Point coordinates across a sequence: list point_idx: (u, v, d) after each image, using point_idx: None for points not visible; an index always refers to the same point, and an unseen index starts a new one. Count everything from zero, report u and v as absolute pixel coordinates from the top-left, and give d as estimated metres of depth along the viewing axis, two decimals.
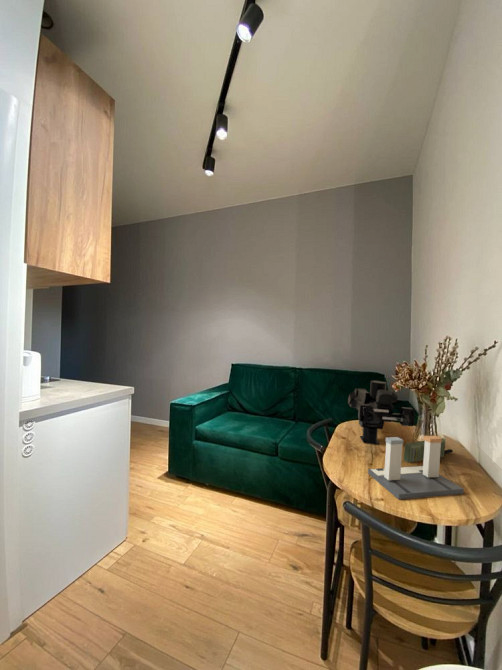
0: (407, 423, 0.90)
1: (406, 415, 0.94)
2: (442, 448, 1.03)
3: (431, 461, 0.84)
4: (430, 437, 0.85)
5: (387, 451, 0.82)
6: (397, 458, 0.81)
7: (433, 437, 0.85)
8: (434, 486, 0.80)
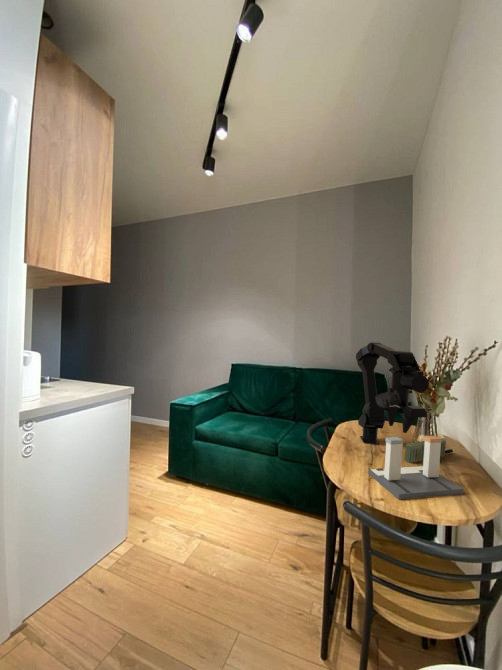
0: None
1: (404, 420, 0.92)
2: (443, 448, 1.03)
3: (431, 461, 0.84)
4: (430, 437, 0.85)
5: (387, 451, 0.82)
6: (397, 458, 0.81)
7: (433, 437, 0.85)
8: (434, 486, 0.80)
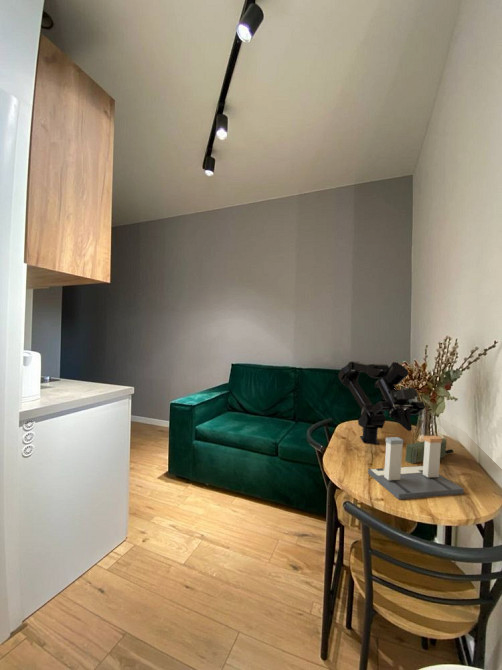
0: None
1: (408, 416, 0.96)
2: (443, 448, 1.03)
3: (431, 461, 0.84)
4: (430, 437, 0.85)
5: (387, 451, 0.82)
6: (397, 458, 0.81)
7: (433, 437, 0.85)
8: (434, 486, 0.80)
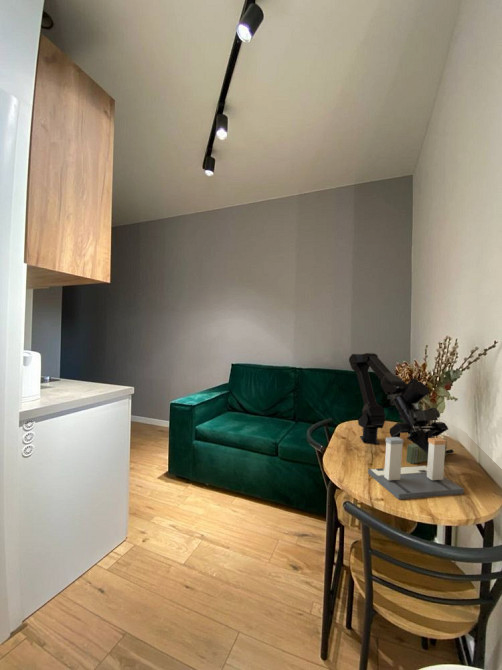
0: None
1: None
2: None
3: (435, 463, 0.82)
4: (434, 439, 0.83)
5: (387, 451, 0.82)
6: (397, 458, 0.81)
7: (437, 439, 0.83)
8: (434, 486, 0.80)
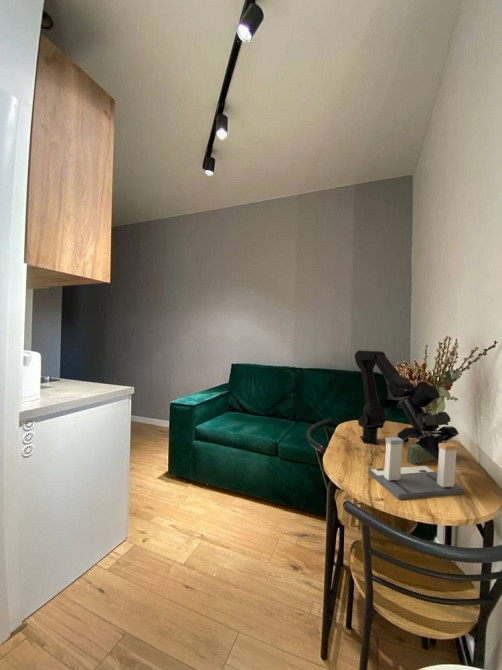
0: None
1: None
2: None
3: (446, 469, 0.79)
4: (445, 444, 0.80)
5: (387, 451, 0.82)
6: (397, 458, 0.81)
7: (448, 444, 0.80)
8: (434, 486, 0.80)
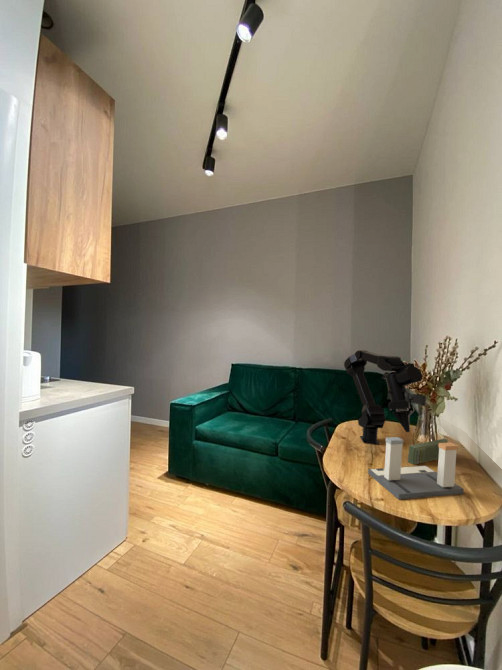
0: None
1: (409, 418, 0.97)
2: None
3: (446, 469, 0.79)
4: (445, 444, 0.80)
5: (387, 451, 0.82)
6: (397, 458, 0.81)
7: (448, 444, 0.80)
8: (434, 486, 0.80)
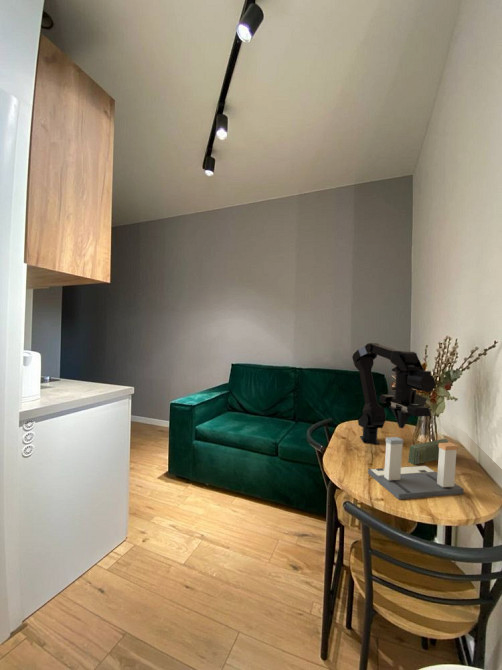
0: None
1: None
2: None
3: (446, 469, 0.79)
4: (445, 444, 0.80)
5: (387, 451, 0.82)
6: (397, 458, 0.81)
7: (448, 444, 0.80)
8: (434, 486, 0.80)
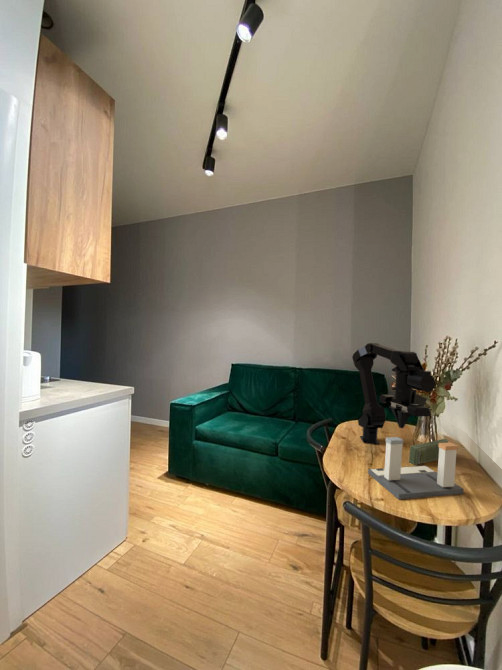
0: None
1: None
2: None
3: (446, 469, 0.79)
4: (445, 444, 0.80)
5: (387, 451, 0.82)
6: (397, 458, 0.81)
7: (448, 444, 0.80)
8: (434, 486, 0.80)
